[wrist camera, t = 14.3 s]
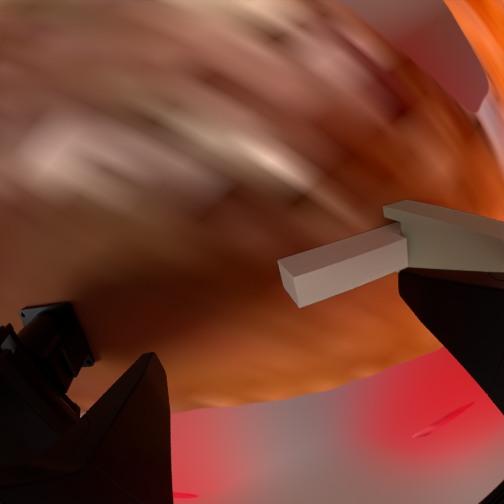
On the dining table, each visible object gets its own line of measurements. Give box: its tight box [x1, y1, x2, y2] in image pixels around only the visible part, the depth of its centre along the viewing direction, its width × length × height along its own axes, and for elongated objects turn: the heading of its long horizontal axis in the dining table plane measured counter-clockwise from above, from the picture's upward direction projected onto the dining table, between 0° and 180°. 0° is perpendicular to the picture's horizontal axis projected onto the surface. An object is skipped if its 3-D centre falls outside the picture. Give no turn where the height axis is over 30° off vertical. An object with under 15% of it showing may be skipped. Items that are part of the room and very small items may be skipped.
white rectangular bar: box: [277, 221, 408, 308], centre depth 22 cm, size 18×2×4 cm, turn 105°
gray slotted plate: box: [383, 199, 504, 273], centre depth 18 cm, size 6×3×13 cm, turn 15°
